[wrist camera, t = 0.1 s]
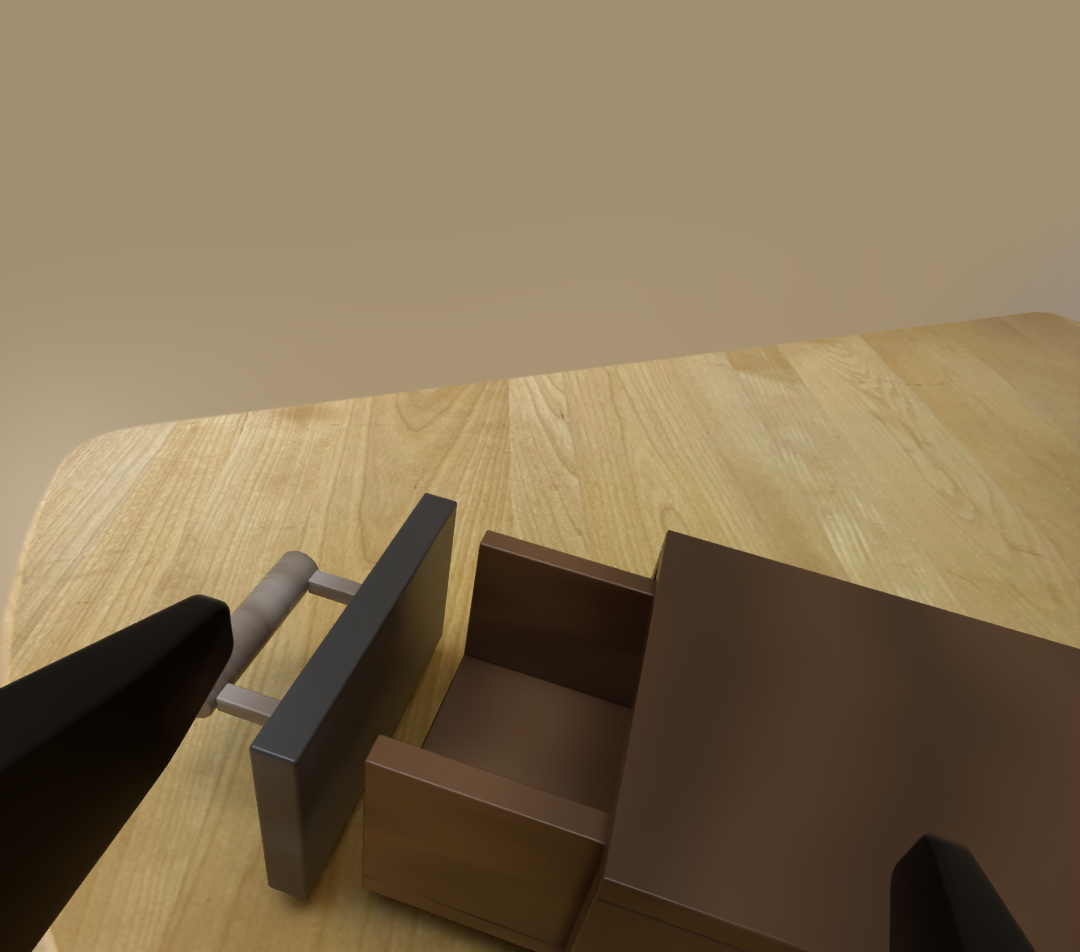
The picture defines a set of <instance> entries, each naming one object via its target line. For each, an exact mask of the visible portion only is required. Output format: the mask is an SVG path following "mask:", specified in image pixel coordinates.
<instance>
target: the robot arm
mask: <svg viewBox="0 0 1080 952" xmlns="http://www.w3.org/2000/svg"><path fill="white" fill-rule="evenodd" d="M233 647H234V639H233V631H232V624H231V617H230V610H229V607H228V605H227V604H226V603H225V602H223V601H221V600H218V599H214V598H211V597H208V596H205V595H194V596H191V597H188V598H186V599H184V600H182V601H180V602H178V603H176V604H174V605H172V606H170V607H168V608H166V609H163V610H161V611H159V612H157V613H155V614H153V615H151V616H149V617H147V618H145V619H143V620H141V621H139V622H137V623H134V624H132V625H130V626H128V627H126V628H124V629H122V630H120V631H118V632H116V633H114V634H112V635H110V636H107V637H105V638H103V639H101V640H99V641H97V642H95V643H93V644H91V645H89V646H87V647H85V648H83V649H81V650H78V651H76V652H74V653H72V654H70V655H68V656H66V657H64V658H62V659H60V660H58V661H56V662H54V663H52V664H49V665H47V666H45V667H43V668H41V669H39V670H37V671H35V672H33V673H31V674H29V675H27V676H25V677H22V678H20V679H18V680H16V681H14V682H12V683H10V684H8V685H6V686H4V687H2V688H0V952H32V951H33V949H34V948H35V947H36V945H37V944H38V942H39V941H40V940H41V938H42V937H43V936H44V934H45V933H46V932H47V930H48V929H49V927H50V926H51V925H52V923H53V922H54V921H55V919H56V918H57V916H58V915H59V914H60V912H61V911H62V910H63V908H64V907H65V905H66V904H67V903H68V901H69V900H70V899H71V897H72V896H73V894H74V893H75V892H76V890H77V889H78V888H79V886H80V885H81V884H82V882H83V881H84V879H85V878H86V877H87V875H88V874H89V873H90V871H91V870H92V868H93V867H94V866H95V864H96V863H97V862H98V860H99V859H100V857H101V856H102V855H103V853H104V852H105V851H106V849H107V848H108V846H109V845H110V844H111V842H112V841H113V840H114V838H115V837H116V835H117V834H118V833H119V831H120V830H121V829H122V827H123V826H124V824H125V823H126V822H127V820H128V819H129V818H130V816H131V815H132V814H133V812H134V811H135V809H136V808H137V807H138V805H139V804H140V803H141V801H142V800H143V798H144V797H145V796H146V794H147V793H148V792H149V790H150V789H151V787H152V786H153V785H154V783H155V782H156V781H157V779H158V778H159V776H160V775H161V773H162V772H163V771H164V769H165V768H166V766H167V765H168V763H169V762H170V760H171V758H172V757H173V755H174V754H175V752H176V750H177V749H178V747H179V746H180V744H181V742H182V740H183V739H184V737H185V735H186V734H187V732H188V730H189V728H190V727H191V725H192V723H193V722H194V720H195V718H196V716H197V715H198V713H199V711H200V710H201V708H202V706H203V704H204V703H205V701H206V699H207V698H208V696H209V694H210V692H211V691H212V689H213V687H214V686H215V684H216V682H217V680H218V679H219V677H220V675H221V674H222V672H223V670H224V668H225V667H226V665H227V663H228V661H229V660H230V657H231V655H232V652H233ZM889 952H1036V951H1035V949H1034V948H1033V946H1032V945H1031V943H1030V942H1029V940H1028V938H1027V937H1026V935H1025V934H1024V932H1023V931H1022V929H1021V928H1020V926H1019V925H1018V923H1017V922H1016V920H1015V919H1014V917H1013V916H1012V914H1011V912H1010V911H1009V909H1008V908H1007V906H1006V905H1005V903H1004V902H1003V900H1002V899H1001V897H1000V896H999V894H998V893H997V891H996V889H995V888H994V886H993V885H992V883H991V882H990V880H989V879H988V877H987V876H986V874H985V873H984V871H983V870H982V868H981V867H980V865H979V863H978V862H977V860H976V859H975V857H974V856H973V854H972V853H971V852H970V850H969V849H968V848H967V847H966V846H964V845H963V844H962V843H960V842H958V841H955V840H952V839H949V838H945V837H942V836H939V835H936V834H933V833H928V834H924V835H923V836H921V837H920V838H919V840H918V841H917V842H916V843H915V844H914V845H913V846H912V847H911V848H910V849H909V850H908V852H907V853H906V854H905V855H904V856H903V857H902V858H901V859H900V860H899V861H898V862H897V864H896V865H895V867H894V869H893V872H892V876H891V882H890V931H889Z"/></svg>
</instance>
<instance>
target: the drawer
mask: <svg viewBox="0 0 1080 952" xmlns="http://www.w3.org/2000/svg"><path fill="white" fill-rule="evenodd" d="M456 508H457V502H455V501H452V500H449V499H445V498H442V497H439V496H435V495H432V494H428V493H425V494H424V496H423V497H422V498H421V500H420V501H419V503H418V504H417V506H416V507H415V509H414V510H413V511H412V513H411V514H410V516H409V517H408V519H407V520H406V522H405V523H404V524H403V526H402V527H401V529H400V530H399V532H398V533H397V535H396V536H395V537H394V539H393V540H392V542H391V543H390V545H389V546H388V548H387V549H386V550H385V552H384V553H383V555H382V556H381V558H380V559H379V561H378V562H377V563H376V565H375V566H374V568H373V569H372V571H371V572H370V574H369V575H368V576H367V578H366V579H365V581H364V582H363V584H360V583H357V582H354V581H351V580H347V579H344V578H341V577H338V576H335V575H332V574H328V573H325V572H322V571H319V570H318V567H317V565H316V563H315V562H314V561H313V559H312V558H310V557H309V556H308V555H306V554H304V553H302V552H299V551H289V552H286V553H285V554H284V555H283V556H282V557H281V558H280V559H279V561H278V562H277V563H276V564H275V565H274V566H273V567H272V569H271V570H270V571H269V572H268V573H267V574H266V575H265V577H264V578H263V579H262V580H261V581H260V582H259V584H258V585H257V586H256V587H255V588H254V589H253V590H252V592H251V593H250V594H249V595H248V596H247V597H246V598H245V600H244V601H243V602H242V603H241V604H240V605H239V606H238V608H237V609H236V610H235V611H234V612H233V613H232V614H231V616H230V617H231V624H232V631H233V639H234V647H233V652H232V655H231V657H230V660H229V661H228V663H227V665H226V667H225V668H224V670H223V672H222V674H221V675H220V677H219V679H218V680H217V682H216V684H215V686H214V687H213V689H212V691H211V692H210V694H209V696H208V698H207V699H206V701H205V703H204V704H203V706H202V708H201V710H200V711H199V713H198V715H197V716H196V717H197V718H206V717H208V716H210V715H211V714H212V713H213V712H214V710H215V709H216V708H218V710H219V711H222V712H225V713H227V714H230V715H233V716H236V717H239V718H242V719H245V720H248V721H250V722H253V723H256V724H259V725H262V726H264V727H263V728H262V729H261V731H260V732H259V734H258V735H257V737H256V738H255V739H254V741H253V742H252V744H251V745H250V748H249V750H250V757H251V764H252V771H253V779H254V786H255V793H256V800H257V807H258V814H259V821H260V828H261V835H262V843H263V850H264V857H265V864H266V871H267V878H268V885H269V886H270V887H271V888H274V889H277V890H279V891H282V892H285V893H287V894H290V895H293V896H295V897H298V898H301V899H303V900H306V899H307V898H308V896H309V894H310V892H311V890H312V888H313V887H314V885H315V883H316V881H317V879H318V877H319V875H320V873H321V871H322V869H323V867H324V865H325V863H326V861H327V859H328V857H329V855H330V853H331V851H332V849H333V847H334V845H335V844H336V842H337V840H338V838H339V836H340V834H341V832H342V830H343V828H344V826H345V824H346V822H347V820H348V818H349V816H350V814H351V812H352V810H353V808H354V806H355V804H356V802H357V801H358V799H359V797H360V795H361V793H362V791H363V789H364V825H363V868H362V873H363V879H362V886H363V888H366V889H368V890H371V891H374V892H376V893H379V894H382V895H385V896H387V897H390V898H393V899H395V900H398V901H401V902H403V903H406V904H409V905H411V906H414V907H417V908H420V909H422V910H425V911H428V912H430V913H433V914H436V915H438V916H441V917H444V918H446V919H449V920H452V921H455V922H457V923H460V924H463V925H465V926H468V927H471V928H473V929H476V930H479V931H481V932H484V933H487V934H490V935H492V936H495V937H498V938H500V939H503V940H506V941H508V942H511V943H514V944H516V945H519V946H522V947H525V948H527V949H530V950H533V951H535V952H563V951H564V949H565V947H566V944H567V942H568V939H569V937H570V935H571V932H572V930H573V928H574V925H575V923H576V921H577V918H578V916H579V914H580V911H581V909H582V906H583V904H584V902H585V899H586V897H587V895H588V892H589V890H590V888H591V885H592V883H593V881H594V878H595V876H596V873H597V871H598V869H599V866H600V864H601V862H602V856H603V851H604V846H605V841H606V836H607V830H608V825H609V820H610V815H611V810H612V804H613V799H614V794H615V789H616V784H617V778H618V773H619V768H620V763H621V758H622V752H623V747H624V742H625V737H626V731H627V726H628V721H629V716H630V711H631V705H632V700H633V695H634V690H635V685H636V679H637V674H638V669H639V664H640V659H641V653H642V648H643V643H644V638H645V633H646V627H647V622H648V617H649V612H650V607H651V601H652V596H653V591H654V586H655V580H654V579H650V578H647V577H644V576H640V575H637V574H634V573H630V572H627V571H624V570H620V569H617V568H614V567H610V566H607V565H603V564H600V563H597V562H593V561H590V560H587V559H583V558H580V557H577V556H573V555H570V554H567V553H563V552H560V551H557V550H553V549H550V548H547V547H543V546H540V545H537V544H533V543H530V542H527V541H523V540H520V539H517V538H513V537H510V536H507V535H503V534H500V533H497V532H493V531H490V530H488V531H486V533H485V535H484V537H483V539H482V541H481V543H480V547H479V553H478V560H477V567H476V574H475V581H474V588H473V595H472V602H471V609H470V616H469V623H468V630H467V637H466V644H465V651H464V652H465V653H464V656H463V658H462V660H461V662H460V664H459V666H458V668H457V671H456V673H455V675H454V677H453V679H452V681H451V684H450V686H449V688H448V690H447V692H446V694H445V697H444V699H443V701H442V703H441V705H440V707H439V710H438V712H437V714H436V716H435V718H434V720H433V722H432V725H431V727H430V729H429V731H428V733H427V735H426V738H425V740H424V742H423V744H422V746H421V748H419V747H416V746H413V745H410V744H407V743H404V742H402V741H399V740H396V739H393V738H390V736H391V734H392V732H393V730H394V728H395V726H396V724H397V722H398V720H399V718H400V716H401V714H402V713H403V711H404V709H405V707H406V705H407V703H408V701H409V699H410V697H411V695H412V693H413V691H414V689H415V687H416V685H417V683H418V681H419V679H420V677H421V675H422V673H423V671H424V670H425V668H426V666H427V664H428V662H429V660H430V658H431V656H432V654H433V652H434V650H435V648H436V646H437V644H438V642H439V640H440V638H441V636H442V632H443V623H444V614H445V605H446V597H447V588H448V579H449V570H450V561H451V552H452V544H453V535H454V526H455V517H456ZM308 590H309V593H312V594H315V595H318V596H321V597H324V598H327V599H330V600H334V601H337V602H340V603H343V604H346V605H347V607H346V608H345V610H344V611H343V612H342V614H341V615H340V617H339V618H338V620H337V621H336V623H335V624H334V625H333V627H332V628H331V630H330V631H329V633H328V634H327V636H326V637H325V638H324V640H323V641H322V643H321V644H320V646H319V647H318V649H317V650H316V651H315V653H314V654H313V656H312V657H311V659H310V660H309V662H308V663H307V664H306V666H305V667H304V669H303V670H302V672H301V673H300V675H299V676H298V677H297V679H296V680H295V682H294V683H293V685H292V686H291V688H290V689H289V690H288V692H287V693H286V695H285V696H284V698H283V699H282V701H280V700H277V699H274V698H271V697H268V696H265V695H262V694H259V693H257V692H254V691H251V690H248V689H245V688H242V687H239V686H236V685H235V683H236V682H237V681H238V680H239V678H240V677H241V676H242V674H243V673H244V672H245V671H246V669H247V668H248V667H249V665H250V664H251V663H252V662H253V660H254V659H255V658H256V656H257V655H258V654H259V653H260V651H261V650H262V649H263V647H264V646H265V645H266V644H267V642H268V641H269V640H270V638H271V637H272V636H273V635H274V633H275V632H276V631H277V629H278V628H279V627H280V626H281V624H282V623H283V622H284V620H285V619H286V618H287V617H288V615H289V614H290V613H291V611H292V610H293V609H294V608H295V606H296V605H297V604H298V602H299V601H300V600H301V599H302V597H303V596H304V595H305V593H306V592H307V591H308Z"/></svg>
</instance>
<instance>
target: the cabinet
mask: <svg viewBox="0 0 1080 952" xmlns="http://www.w3.org/2000/svg"><path fill="white" fill-rule="evenodd" d="M651 579H654V580H655V586H654V591H653V596H652V601H651V607H650V612H649V617H648V622H647V627H646V633H645V638H644V643H643V648H642V653H641V659H640V664H639V669H638V674H637V679H636V685H635V690H634V695H633V700H632V705H631V711H630V716H629V721H628V726H627V731H626V737H625V742H624V747H623V752H622V758H621V763H620V768H619V773H618V778H617V784H616V789H615V794H614V799H613V804H612V810H611V815H610V820H609V825H608V830H607V836H606V841H605V846H604V851H603V856H602V862H601V864H600V866H599V869H598V871H597V873H596V876H595V878H594V881H593V883H592V885H591V888H590V890H589V892H588V895H587V897H586V899H585V902H584V904H583V906H582V909H581V911H580V914H579V916H578V918H577V921H576V923H575V925H574V928H573V930H572V932H571V935H570V937H569V939H568V942H567V944H566V947H565V949H564V951H563V952H889V931H890V882H891V876H892V872H893V869H894V867H895V865H896V864H897V862H898V861H899V860H900V859H901V858H902V857H903V856H904V855H905V854H906V853H907V852H908V850H909V849H910V848H911V847H912V846H913V845H914V844H915V843H916V842H917V841H918V840H919V838H920V837H921V836H923V835H924V834H928V833H933V834H936V835H939V836H942V837H945V838H949V839H952V840H955V841H958V842H960V843H962V844H963V845H964V846H966V847H967V848H968V849H969V850H970V852H971V853H972V854H973V856H974V857H975V859H976V860H977V862H978V863H979V865H980V867H981V868H982V870H983V871H984V873H985V874H986V876H987V877H988V879H989V880H990V882H991V883H992V885H993V886H994V888H995V889H996V891H997V893H998V894H999V896H1000V897H1001V899H1002V900H1003V902H1004V903H1005V905H1006V906H1007V908H1008V909H1009V911H1010V912H1011V914H1012V916H1013V917H1014V919H1015V920H1016V922H1017V923H1018V925H1019V926H1020V928H1021V929H1022V931H1023V932H1024V934H1025V935H1026V937H1027V938H1028V940H1029V942H1030V943H1031V945H1032V946H1033V948H1034V949H1035V951H1036V952H1080V649H1078V648H1074V647H1071V646H1067V645H1064V644H1060V643H1057V642H1054V641H1050V640H1047V639H1043V638H1040V637H1036V636H1033V635H1029V634H1026V633H1023V632H1019V631H1016V630H1012V629H1009V628H1005V627H1002V626H998V625H995V624H991V623H988V622H985V621H981V620H978V619H974V618H971V617H967V616H964V615H960V614H957V613H954V612H950V611H947V610H943V609H940V608H936V607H933V606H929V605H926V604H922V603H919V602H916V601H912V600H909V599H905V598H902V597H898V596H895V595H891V594H888V593H885V592H881V591H878V590H874V589H871V588H867V587H864V586H860V585H857V584H853V583H850V582H847V581H843V580H840V579H836V578H833V577H829V576H826V575H822V574H819V573H816V572H812V571H809V570H805V569H802V568H798V567H795V566H791V565H788V564H784V563H781V562H778V561H774V560H771V559H767V558H764V557H760V556H757V555H753V554H750V553H747V552H743V551H740V550H736V549H733V548H729V547H726V546H722V545H719V544H715V543H712V542H709V541H705V540H702V539H698V538H695V537H691V536H688V535H684V534H681V533H678V532H674V531H671V530H668V531H667V534H666V536H665V539H664V542H663V545H662V549H661V551H660V554H659V557H658V560H657V563H656V566H655V569H654V571H653V574H652V577H651Z"/></svg>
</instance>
